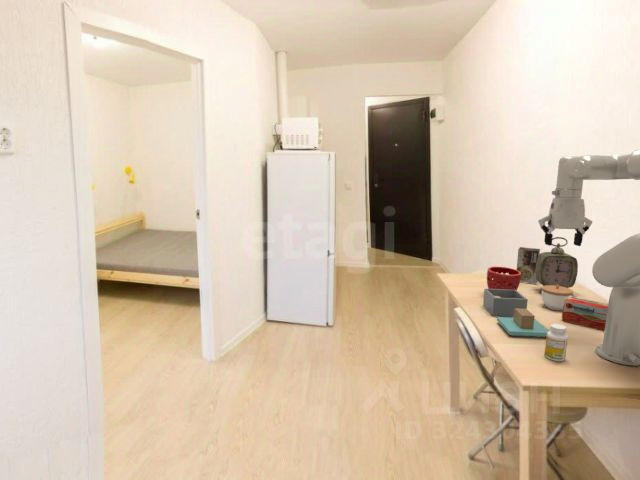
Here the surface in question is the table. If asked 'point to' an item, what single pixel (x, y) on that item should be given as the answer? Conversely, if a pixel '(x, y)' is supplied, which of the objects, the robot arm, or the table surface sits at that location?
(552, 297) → the lidded jar
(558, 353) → the supplement bottle
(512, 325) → the teal base with post
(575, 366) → the table surface
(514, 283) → the plant pot
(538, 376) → the table surface
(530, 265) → the coffee box
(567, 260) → the tabletop clock
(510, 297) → the storage box
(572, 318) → the medicine box
